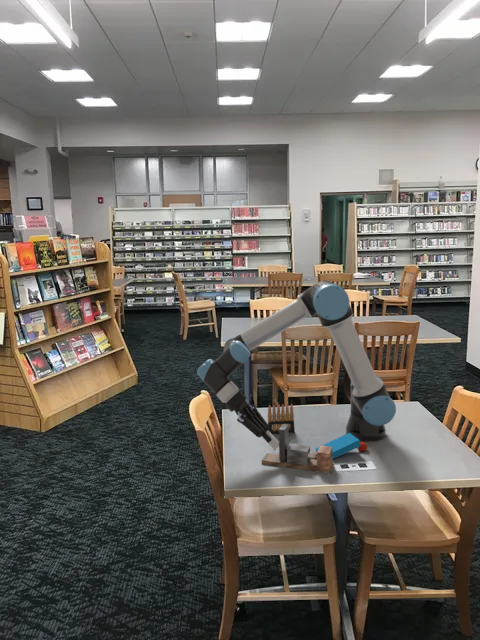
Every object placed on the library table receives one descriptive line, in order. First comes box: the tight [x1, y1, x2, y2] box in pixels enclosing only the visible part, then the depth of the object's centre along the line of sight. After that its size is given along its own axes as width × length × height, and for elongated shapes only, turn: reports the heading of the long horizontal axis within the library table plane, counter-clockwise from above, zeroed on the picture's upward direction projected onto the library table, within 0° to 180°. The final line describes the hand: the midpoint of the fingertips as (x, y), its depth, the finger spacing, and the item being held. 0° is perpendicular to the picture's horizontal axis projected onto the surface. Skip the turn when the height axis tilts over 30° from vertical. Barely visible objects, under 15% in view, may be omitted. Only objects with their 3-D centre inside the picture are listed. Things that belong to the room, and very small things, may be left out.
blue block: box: [315, 433, 368, 460], centre depth 176 cm, size 7×7×18 cm
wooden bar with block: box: [261, 443, 335, 474], centre depth 168 cm, size 24×6×7 cm, turn 69°
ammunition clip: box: [267, 403, 296, 435], centre depth 196 cm, size 11×2×12 cm, turn 93°
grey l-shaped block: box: [278, 424, 317, 462], centre depth 167 cm, size 16×5×12 cm, turn 69°
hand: (277, 447), depth 170 cm, fingers closed
